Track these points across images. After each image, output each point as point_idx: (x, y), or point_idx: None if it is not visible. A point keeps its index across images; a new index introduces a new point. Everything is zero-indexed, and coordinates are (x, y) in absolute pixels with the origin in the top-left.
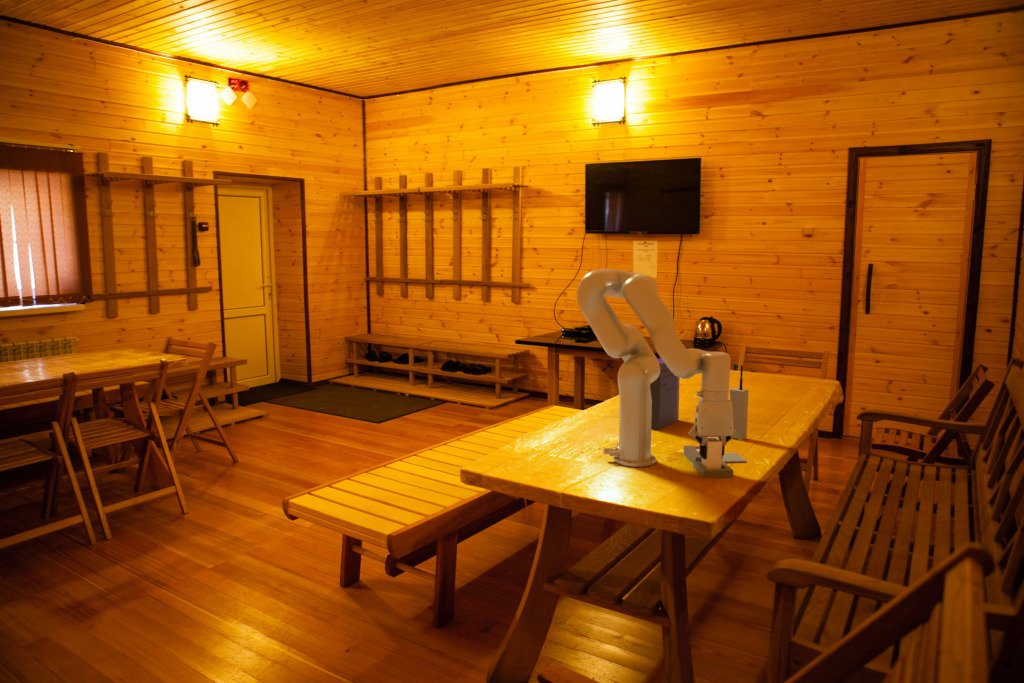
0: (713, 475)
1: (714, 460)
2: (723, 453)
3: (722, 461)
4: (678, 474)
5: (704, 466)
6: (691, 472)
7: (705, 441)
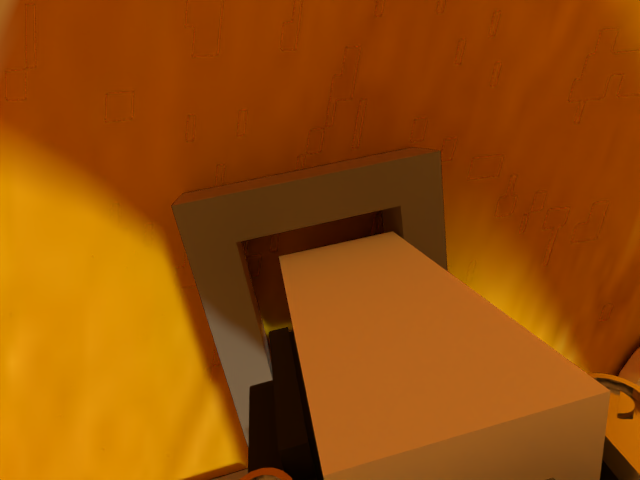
0: (346, 162)
1: (357, 273)
2: (258, 391)
3: (245, 417)
4: (553, 204)
5: None
6: (464, 258)
7: (623, 437)
